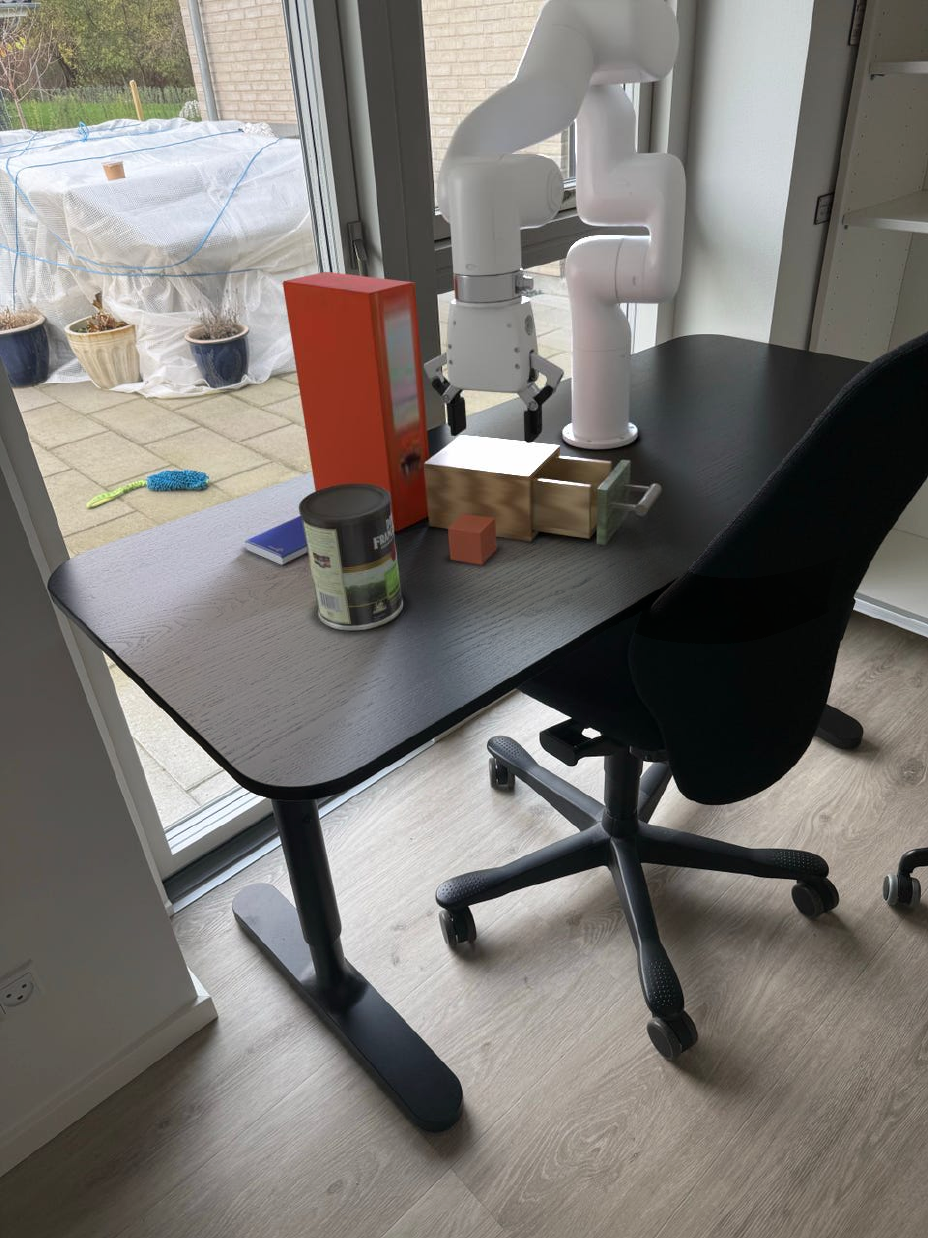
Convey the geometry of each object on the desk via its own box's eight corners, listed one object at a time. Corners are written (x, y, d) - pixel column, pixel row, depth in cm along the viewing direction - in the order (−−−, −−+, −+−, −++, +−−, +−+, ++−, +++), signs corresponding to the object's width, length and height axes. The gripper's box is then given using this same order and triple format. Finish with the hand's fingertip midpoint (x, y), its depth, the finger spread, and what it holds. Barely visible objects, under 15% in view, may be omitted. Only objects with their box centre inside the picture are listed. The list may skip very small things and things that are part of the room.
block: (465, 544, 117) (463, 513, 115) (496, 549, 115) (495, 517, 113) (450, 559, 114) (447, 527, 111) (482, 565, 112) (480, 532, 109)
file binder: (357, 486, 137) (327, 270, 120) (435, 512, 126) (414, 280, 110) (317, 503, 132) (280, 281, 115) (394, 532, 122) (366, 293, 105)
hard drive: (281, 555, 115) (351, 521, 122) (244, 539, 119) (313, 507, 127) (283, 565, 115) (352, 531, 123) (246, 549, 120) (315, 517, 128)
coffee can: (412, 588, 108) (400, 482, 101) (391, 633, 99) (377, 521, 92) (332, 585, 110) (315, 481, 102) (306, 629, 101) (285, 519, 94)
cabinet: (560, 507, 125) (560, 445, 120) (530, 541, 117) (528, 476, 112) (464, 494, 131) (460, 434, 126) (429, 526, 123) (423, 463, 118)
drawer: (663, 517, 118) (666, 464, 114) (641, 550, 111) (644, 494, 106) (531, 500, 126) (530, 449, 122) (503, 529, 118) (500, 476, 114)
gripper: (573, 282, 96) (573, 432, 105) (433, 279, 103) (444, 420, 112) (549, 296, 90) (551, 453, 99) (403, 292, 97) (417, 439, 106)
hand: (494, 435), depth 105 cm, fingers open, 9 cm apart
